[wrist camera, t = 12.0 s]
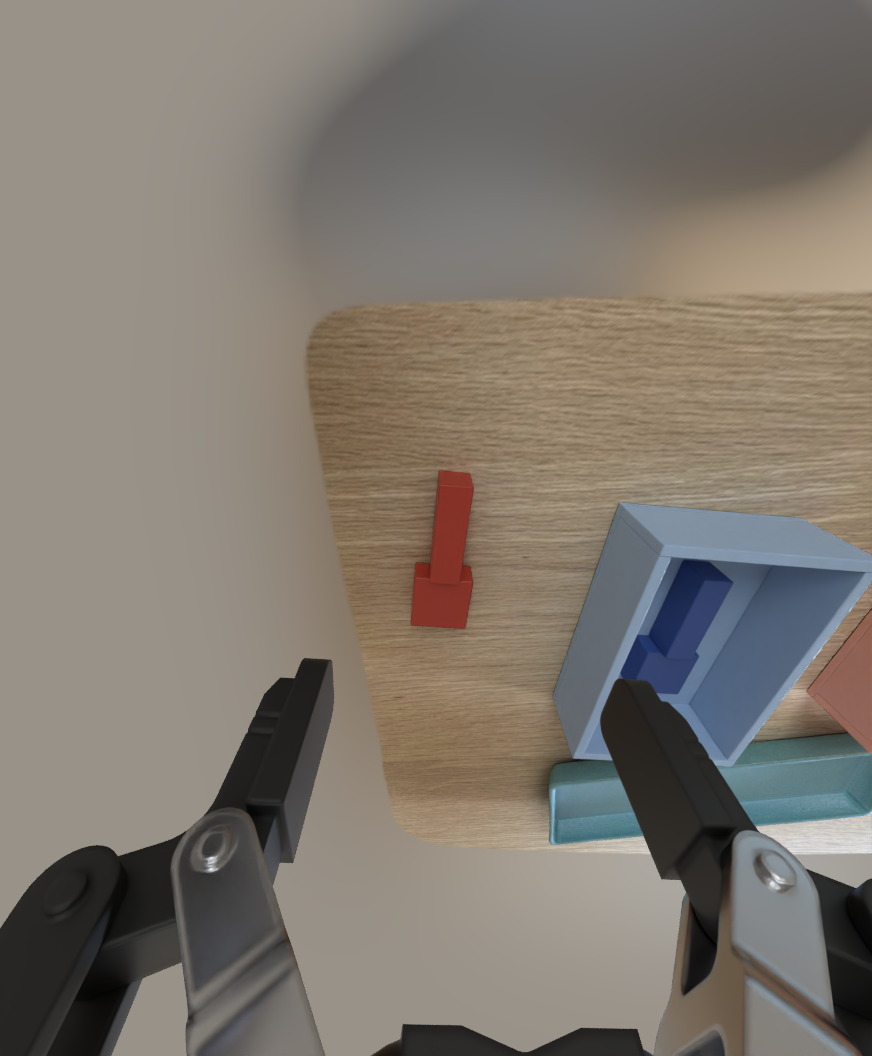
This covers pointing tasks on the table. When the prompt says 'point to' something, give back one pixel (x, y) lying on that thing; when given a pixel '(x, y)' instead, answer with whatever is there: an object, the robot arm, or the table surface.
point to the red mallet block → (446, 559)
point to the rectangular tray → (755, 779)
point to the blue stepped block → (678, 628)
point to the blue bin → (736, 631)
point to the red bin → (850, 685)
